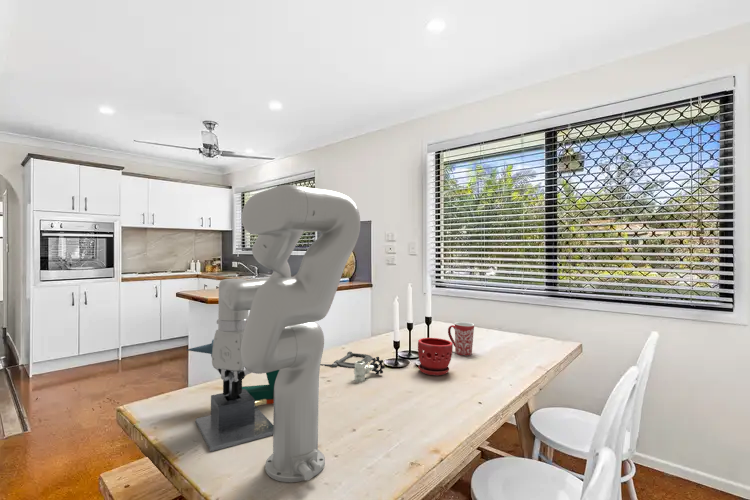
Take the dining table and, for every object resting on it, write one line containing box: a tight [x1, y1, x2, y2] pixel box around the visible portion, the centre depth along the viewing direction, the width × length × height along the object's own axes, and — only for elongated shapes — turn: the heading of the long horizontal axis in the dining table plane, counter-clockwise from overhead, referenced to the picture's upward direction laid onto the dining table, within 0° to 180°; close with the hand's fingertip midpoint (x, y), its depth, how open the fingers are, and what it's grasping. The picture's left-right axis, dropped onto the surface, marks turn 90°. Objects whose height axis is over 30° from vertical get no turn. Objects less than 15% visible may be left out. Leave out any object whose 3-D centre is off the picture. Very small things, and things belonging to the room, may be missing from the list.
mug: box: [447, 321, 475, 356], centre depth 178 cm, size 13×9×14 cm
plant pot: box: [417, 337, 454, 376], centre depth 150 cm, size 13×13×12 cm
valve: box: [353, 356, 386, 383], centre depth 142 cm, size 7×7×12 cm
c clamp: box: [320, 351, 373, 369], centre depth 162 cm, size 20×17×3 cm
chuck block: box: [195, 389, 273, 453], centre depth 102 cm, size 18×17×7 cm
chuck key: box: [224, 371, 240, 401], centre depth 104 cm, size 6×2×8 cm, turn 158°
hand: (232, 393), depth 104 cm, fingers closed on chuck key, 2 cm apart
